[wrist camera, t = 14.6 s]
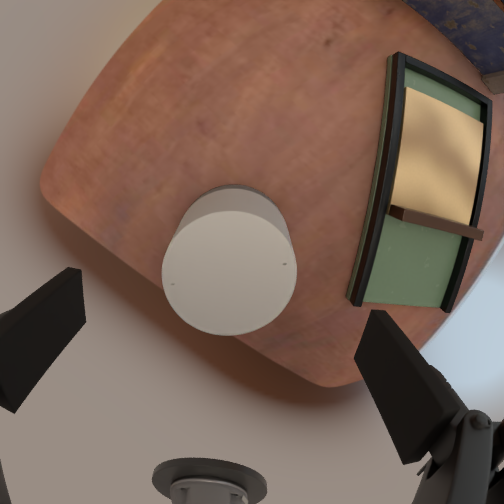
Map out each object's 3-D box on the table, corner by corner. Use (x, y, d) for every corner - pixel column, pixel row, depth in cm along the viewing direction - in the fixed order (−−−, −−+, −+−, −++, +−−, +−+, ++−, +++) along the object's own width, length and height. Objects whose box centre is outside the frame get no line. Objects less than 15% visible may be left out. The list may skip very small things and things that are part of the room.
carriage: (461, 232, 30) (481, 241, 26) (383, 213, 29) (401, 221, 25) (477, 124, 26) (499, 123, 22) (401, 88, 25) (421, 80, 21)
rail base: (441, 304, 34) (450, 313, 31) (345, 296, 33) (352, 306, 30) (481, 102, 26) (493, 101, 23) (387, 57, 25) (397, 50, 22)
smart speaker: (272, 174, 29) (297, 184, 15) (287, 261, 31) (316, 333, 18) (179, 193, 29) (127, 219, 16) (199, 277, 32) (172, 356, 18)
